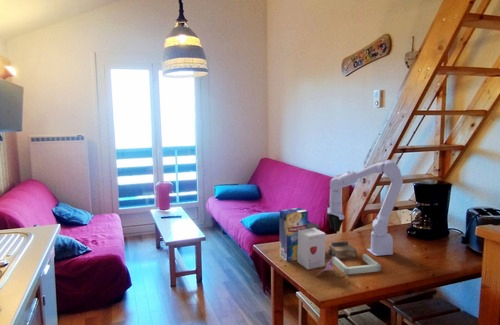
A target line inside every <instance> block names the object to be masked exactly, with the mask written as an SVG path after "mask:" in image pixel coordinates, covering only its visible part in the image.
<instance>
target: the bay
mask: <svg viewBox="0 0 500 325" xmlns="http://www.w3.org/2000/svg"><path fill="white" fill-rule="evenodd" d="M333 258H334V257H333ZM333 258H332V260H333ZM362 261H364V262H365V263H366V264H364V265H354V266H347V265H346V264H344V263H343V262H342V261H341V260H340V259H338V258H337V257H335V258H334V260H333V265H335V266H336V268H338V269H339V270H340V272H342V273H343V274H344V275H346V276H347V275H354V274H365V273H374V272H375V273H376V272H381V271H382V265H381V264H380V263H379V262H377V261H376V260H375V259H373V258H372V257H371V256H369V255H368V254H367V253H362Z"/></svg>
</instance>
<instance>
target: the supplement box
mask: <svg viewBox="0 0 500 325" xmlns="http://www.w3.org/2000/svg"><path fill="white" fill-rule="evenodd" d="M326 236H327V235H326V233H325V232H324V231H322V230H320V229H319V230H318V229H316V228H310V229H303V230H298V250H297V260H296V261H297V263H298V264H300V265H301V266H302V267H304V268H305V269H307V270H312V269H316V268H321V267H326V266H325V265H326V260H325V259H326ZM324 262H325V264H324Z"/></svg>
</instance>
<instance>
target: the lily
mask: <svg viewBox="0 0 500 325" xmlns="http://www.w3.org/2000/svg"><path fill="white" fill-rule="evenodd" d="M335 257H336V256H335ZM335 257H334V258H335ZM334 258H333V257H332V256H331V258H330V260H329V261H328V262H326V261H325V262H324V264H325V265H326V266H325V267H324V269H322V270H321V271H319V272H318V274H320V273H321V272H324V271H331V270H332V271H333V272H334V274H335V275H336V277H337V278H339V276H338V274H337V273H336V271H335V270H334V267H333V265H334V263H333V260H334ZM317 276H318V275H316V277H317Z"/></svg>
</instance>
